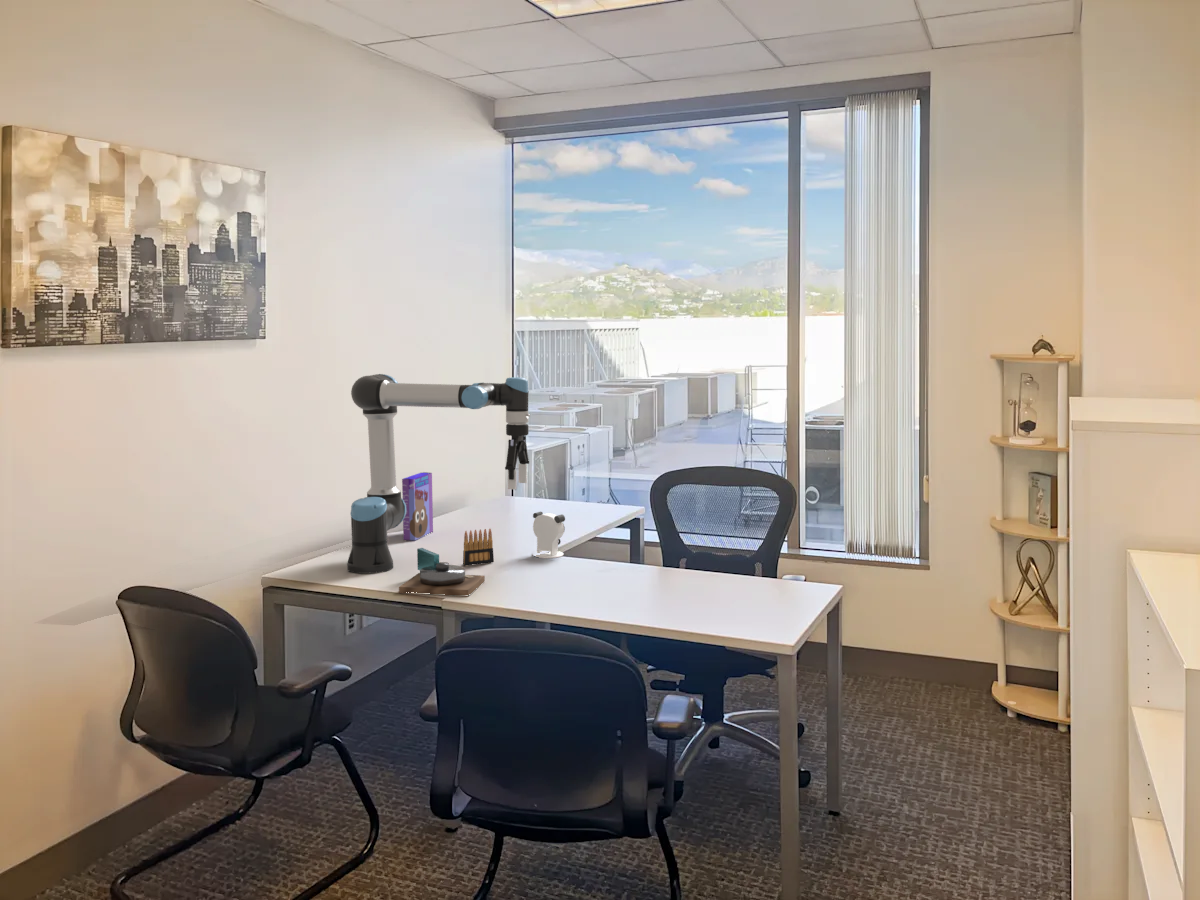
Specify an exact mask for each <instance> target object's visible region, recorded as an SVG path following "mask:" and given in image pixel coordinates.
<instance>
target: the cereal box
mask: <svg viewBox="0 0 1200 900" xmlns="http://www.w3.org/2000/svg"><path fill="white" fill-rule="evenodd" d="M401 483H402V485H401V486H402V487H401V490H402V491H401V496H402V499H403V500H404V502H405V504H406V515H405V518H404V519H403V521H402V529H403V541H404V540H406V542H407V541H408V542H409V541H410V542H416V541H418V540H421V539H423V538H424V537H426V536H428V535H430V534H432V533H434V524H433V523H434V520H433V519H434V513H433V509H434V508H433V506H434V505H433V503H434V502H433V473H432V472H427V471H426V472H425V471H423V472H418V473H415V474H412V475H409V476H407V477H404V478H401ZM431 532H432V533H431ZM429 533H430V534H429ZM427 534H428V535H427ZM425 535H426V536H425Z"/></svg>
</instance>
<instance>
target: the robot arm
mask: <svg viewBox="0 0 1200 900" xmlns="http://www.w3.org/2000/svg"><path fill="white" fill-rule="evenodd" d="M529 391H530V390H529V380H528V379H527V378H526V377H521V376H520V377H514V376H513V377H507V378H505V382H504V383H503V382H502V383H498V382H497V383H495V382H493V383H492V382H474V383H472V384H447V383H446V384H445V383H443V384H442V383H441V384H439V383H438V384H437V383H405V382H403V383H402V382H400V383H399V382H398V381H397V380H396V378H394V377H393V376H391V375H389V374H383V373H379V374H378V373H377V374H371V375H363V376H361V377H359V378H358V379H356V380H355V382H354V383H353V385H352V387H351V390H350V395H351V400H352V401H353V403H354V404H355V406H357V407H358V408H359V409H361V410H362V415H363V416H364V417H365V418H366V419H367V430H368V447H369V448H368V449H369V469H370V488H369V489H368V491H367V492H366V496H367V497H363V498H358V499H356V500H354V501H352V503H351V506H350V522H351V525H350V526H351V527H350V528H351V529H350V530H351V549H350V552H349V555H348V559H347V562H346V565H347V566H346V567H347V571H348V572H351V573H355V574H375V573H376V572H377V573H383V572H386V571H390V570H392V569H393V568H394V559H393V557H392V554H391V551H390V549H389V546H388V531H390V530H392V529H394V528H396V527H398V526H399V525H400V524H401V523H403V519H404V518H405V515H406V504H405V502H404V500H403V497H402V491H401V490H402V489H400V488H399V487H398V486H397V478H396V477H397V475H396V474H397V473H396V453H395V451H396V450H395V433H394V429H395V428H394V417H395V416H396V415H397V414H398V407H418V408H419V407H421V408H422V407H424V408H427V407H428V408H454V409H455V408H462V409H470V410H479V409H482V408H485V407H489V406H501V407H502V406H504V407H505V422H506V423H507V424H506V425H505V433H506V436H510V437H511V439H508V441H507V442H508V446H507V447H508V448H507V453H506V454H507V455H506V461H505V462H506V464H505V467H504V469H505V470H507V489H508V490H517V469H516V466H517V461H518V483H519V484H527V482H528V478H527V477H528V476H527V475H528V471H527V470H528V464H530V459H529V454H528V448H527V437H526V436H529V431H530V430H529V424H528V423H529V417H531V414H530V413H529ZM382 571H383V572H382Z"/></svg>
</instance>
